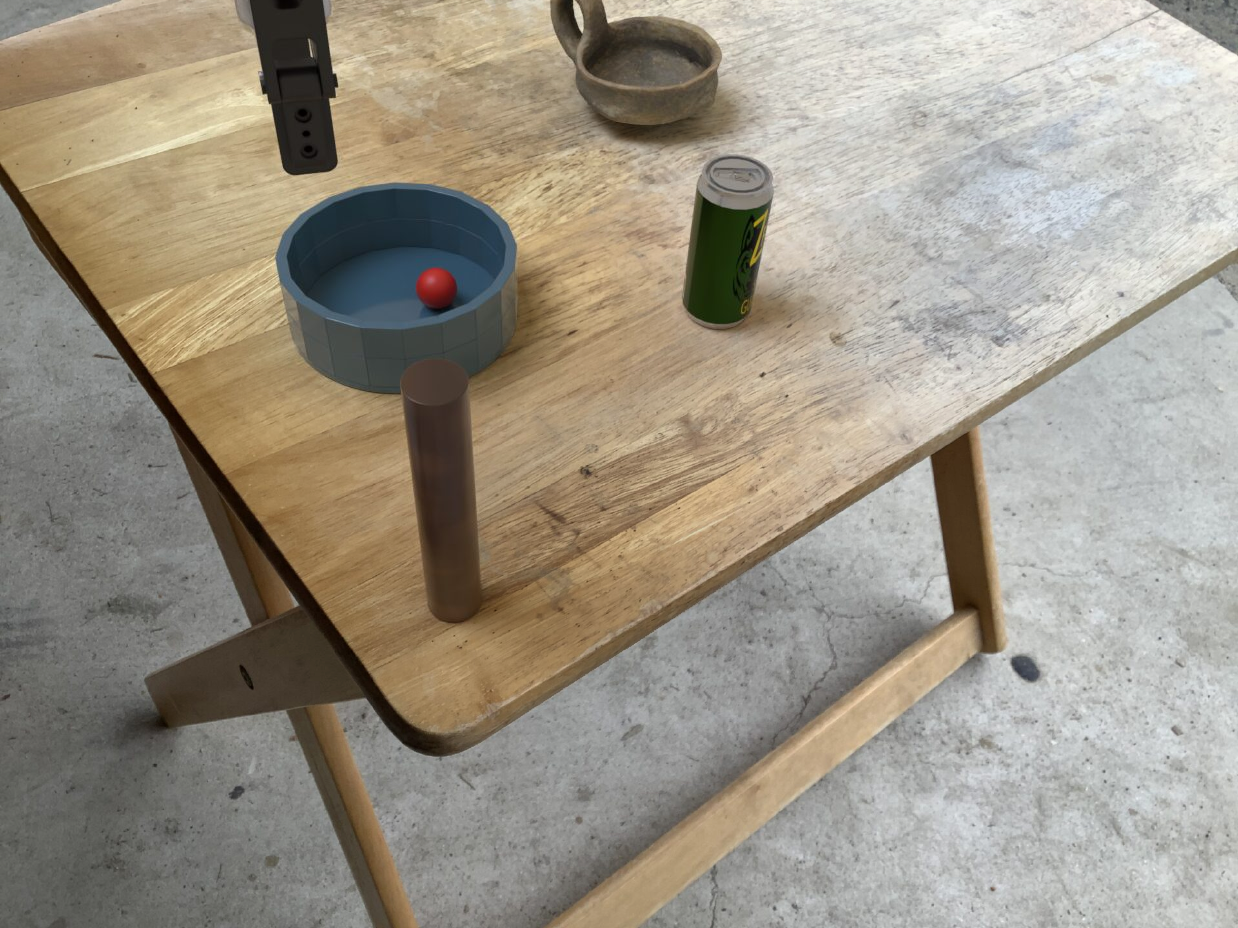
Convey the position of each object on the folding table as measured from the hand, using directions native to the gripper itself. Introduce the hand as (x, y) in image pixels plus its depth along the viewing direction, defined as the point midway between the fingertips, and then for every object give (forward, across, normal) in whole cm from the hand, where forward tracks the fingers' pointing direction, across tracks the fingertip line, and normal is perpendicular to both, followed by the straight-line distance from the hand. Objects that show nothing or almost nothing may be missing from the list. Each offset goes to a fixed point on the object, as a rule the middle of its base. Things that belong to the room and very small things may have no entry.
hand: (298, 114), depth 48 cm
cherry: (+26, -18, +8) cm, 33 cm away
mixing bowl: (+28, -18, +6) cm, 34 cm away
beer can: (+28, -14, +29) cm, 42 cm away
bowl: (+28, -44, +32) cm, 61 cm away
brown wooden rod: (+28, +8, +4) cm, 29 cm away
